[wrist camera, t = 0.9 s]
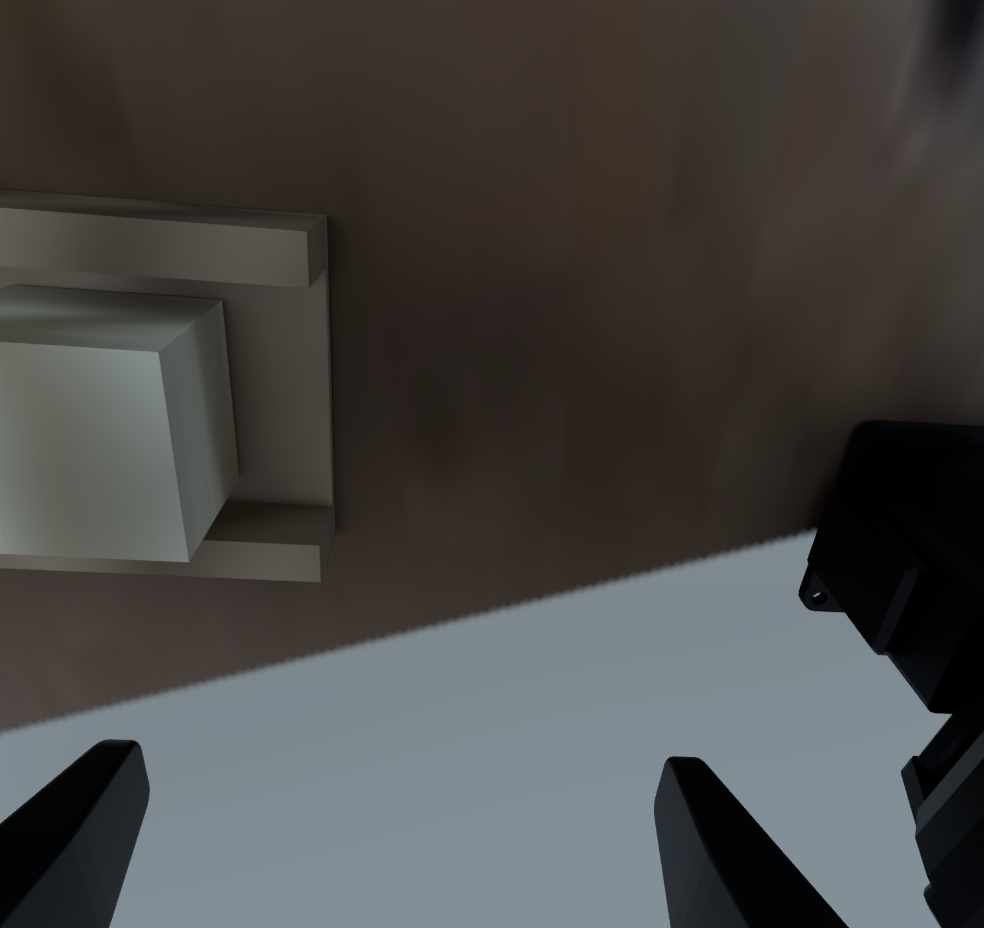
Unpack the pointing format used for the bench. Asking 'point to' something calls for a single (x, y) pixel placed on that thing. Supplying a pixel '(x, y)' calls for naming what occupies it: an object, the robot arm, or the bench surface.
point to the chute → (250, 348)
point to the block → (112, 423)
